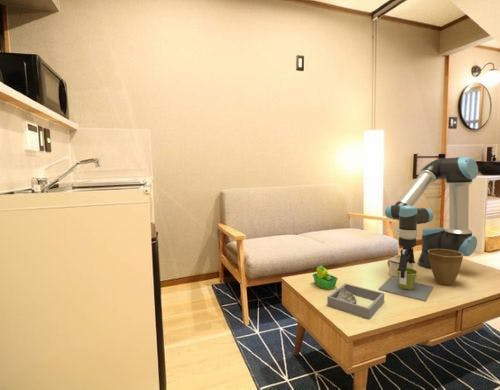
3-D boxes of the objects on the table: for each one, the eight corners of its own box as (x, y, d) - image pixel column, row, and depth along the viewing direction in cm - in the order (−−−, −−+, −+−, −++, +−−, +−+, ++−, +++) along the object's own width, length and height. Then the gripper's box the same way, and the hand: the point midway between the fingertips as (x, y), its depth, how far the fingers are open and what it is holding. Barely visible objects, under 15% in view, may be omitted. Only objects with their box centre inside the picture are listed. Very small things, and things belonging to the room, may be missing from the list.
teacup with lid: (411, 277, 153) (411, 256, 152) (398, 279, 151) (398, 258, 150) (393, 270, 165) (394, 250, 164) (381, 272, 162) (381, 252, 161)
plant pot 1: (421, 289, 136) (422, 272, 136) (407, 293, 133) (408, 275, 132) (404, 282, 145) (405, 266, 144) (391, 285, 142) (391, 269, 141)
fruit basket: (338, 287, 142) (338, 266, 141) (326, 292, 138) (326, 269, 137) (322, 280, 152) (322, 260, 151) (309, 284, 147) (309, 263, 146)
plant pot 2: (460, 280, 147) (462, 250, 146) (462, 290, 135) (464, 258, 134) (427, 275, 156) (428, 247, 154) (426, 284, 143) (427, 253, 142)
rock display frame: (345, 291, 138) (345, 283, 137) (384, 301, 126) (384, 293, 125) (327, 305, 124) (327, 296, 123) (369, 319, 112) (369, 309, 111)
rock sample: (326, 294, 126) (340, 281, 126) (331, 300, 131) (345, 287, 131) (342, 312, 118) (358, 298, 118) (347, 317, 123) (362, 304, 124)
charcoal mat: (390, 277, 153) (390, 276, 153) (433, 287, 140) (433, 286, 140) (378, 289, 138) (378, 288, 138) (425, 301, 125) (425, 300, 125)
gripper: (405, 232, 149) (404, 270, 151) (391, 241, 130) (390, 285, 132) (421, 233, 144) (420, 274, 146) (409, 243, 125) (408, 289, 127)
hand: (406, 279), depth 139 cm, fingers open, 13 cm apart
